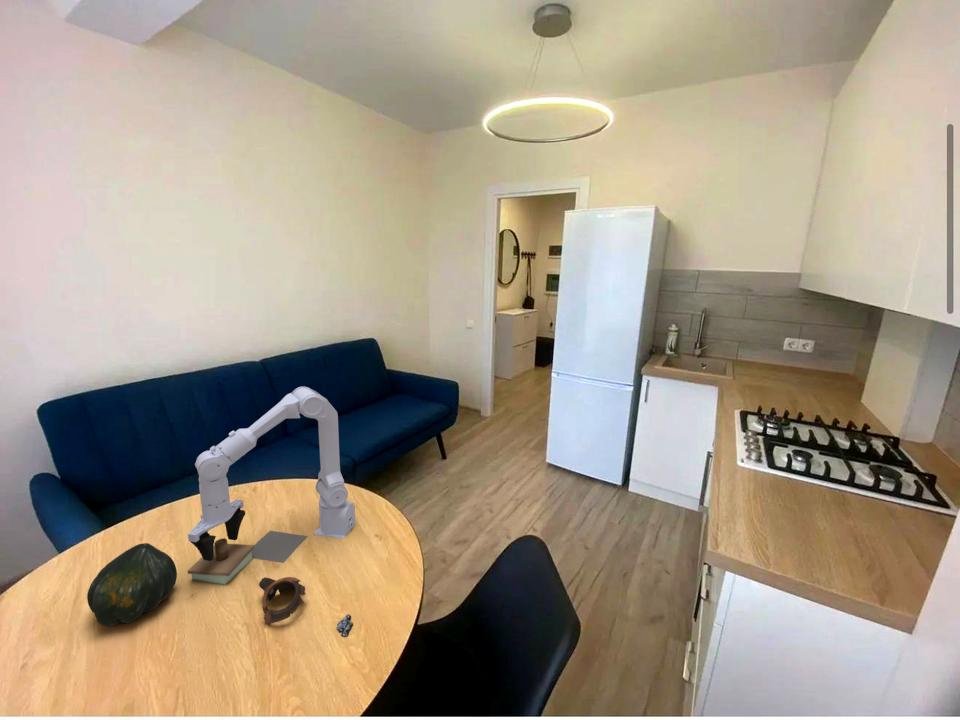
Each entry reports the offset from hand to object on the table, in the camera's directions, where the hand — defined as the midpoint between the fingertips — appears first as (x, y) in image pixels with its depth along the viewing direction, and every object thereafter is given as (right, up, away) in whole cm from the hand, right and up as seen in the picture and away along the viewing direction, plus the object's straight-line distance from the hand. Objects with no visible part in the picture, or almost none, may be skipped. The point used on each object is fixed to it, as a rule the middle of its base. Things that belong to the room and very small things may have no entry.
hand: (221, 548), depth 97 cm
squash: (-12, -8, -10) cm, 18 cm away
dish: (0, -6, +1) cm, 6 cm away
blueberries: (+36, -11, -13) cm, 40 cm away
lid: (0, -3, +1) cm, 3 cm away
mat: (+8, -5, +10) cm, 14 cm away
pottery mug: (+20, -9, -9) cm, 23 cm away
